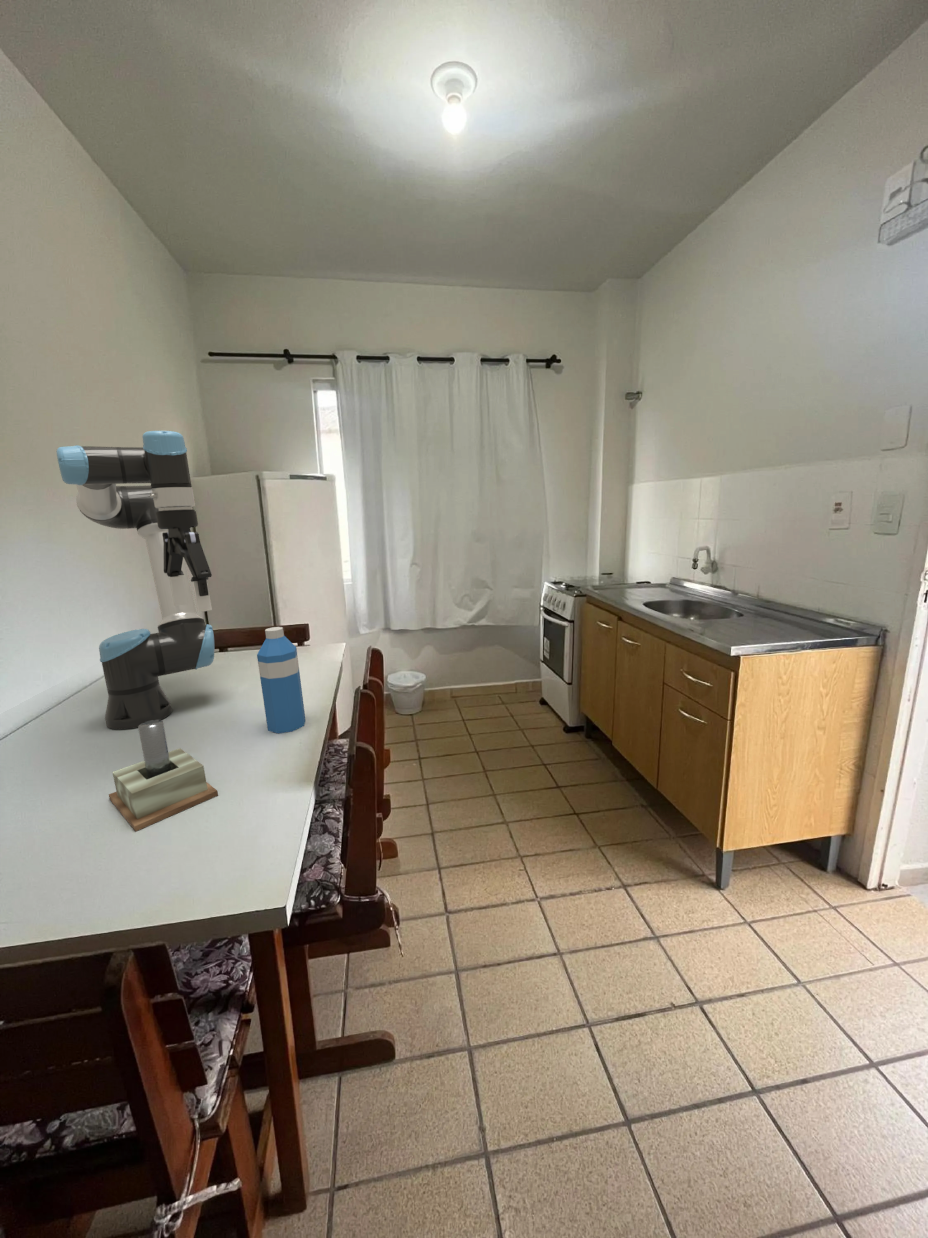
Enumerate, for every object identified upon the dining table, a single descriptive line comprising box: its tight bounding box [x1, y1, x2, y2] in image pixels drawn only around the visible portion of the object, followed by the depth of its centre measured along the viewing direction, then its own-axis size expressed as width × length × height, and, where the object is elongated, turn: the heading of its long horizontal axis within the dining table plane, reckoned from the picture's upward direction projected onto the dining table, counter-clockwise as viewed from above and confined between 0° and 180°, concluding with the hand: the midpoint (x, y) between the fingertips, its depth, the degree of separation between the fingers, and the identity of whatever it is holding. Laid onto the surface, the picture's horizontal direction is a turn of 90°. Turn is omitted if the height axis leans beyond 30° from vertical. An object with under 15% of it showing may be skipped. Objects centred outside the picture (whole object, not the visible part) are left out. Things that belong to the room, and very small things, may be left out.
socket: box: [108, 747, 219, 832], centre depth 98 cm, size 16×14×6 cm
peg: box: [137, 719, 171, 779], centre depth 97 cm, size 4×4×14 cm
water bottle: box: [256, 626, 306, 734], centre depth 126 cm, size 9×9×25 cm
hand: (192, 607), depth 112 cm, fingers open, 13 cm apart
